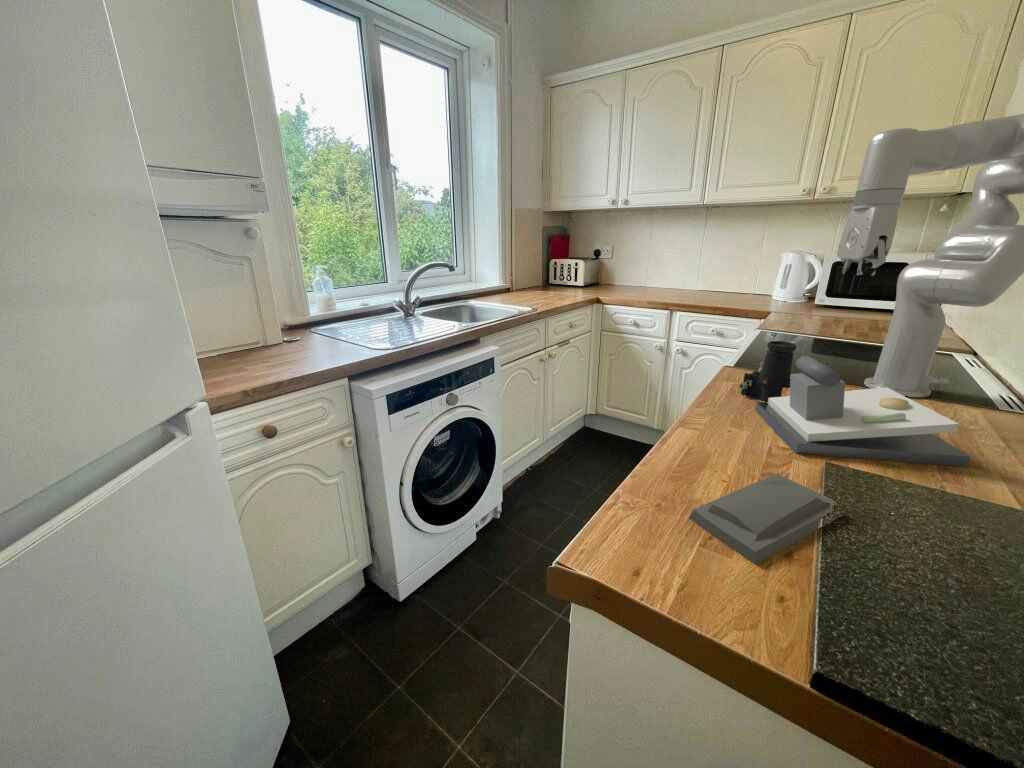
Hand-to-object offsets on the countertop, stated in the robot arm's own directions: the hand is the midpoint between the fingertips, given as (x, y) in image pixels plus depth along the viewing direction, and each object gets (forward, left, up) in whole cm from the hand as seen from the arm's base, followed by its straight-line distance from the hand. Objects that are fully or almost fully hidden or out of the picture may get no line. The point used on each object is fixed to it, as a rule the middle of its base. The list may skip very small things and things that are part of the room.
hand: (852, 292), depth 89 cm
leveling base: (+5, +19, -25) cm, 32 cm away
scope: (+13, +1, -25) cm, 29 cm away
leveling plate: (+5, +19, -21) cm, 29 cm away
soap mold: (+30, +49, -26) cm, 63 cm away
